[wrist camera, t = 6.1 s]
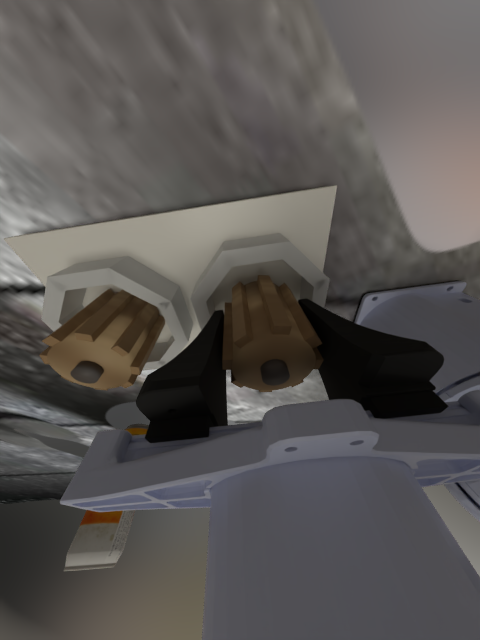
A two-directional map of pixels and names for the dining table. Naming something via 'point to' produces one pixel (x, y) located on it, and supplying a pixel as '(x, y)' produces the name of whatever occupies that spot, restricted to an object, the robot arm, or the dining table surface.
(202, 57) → the dining table surface
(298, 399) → the dining table surface
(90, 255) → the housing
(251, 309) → the loose gear
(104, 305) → the seated gear
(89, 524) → the beer can
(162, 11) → the dining table surface
